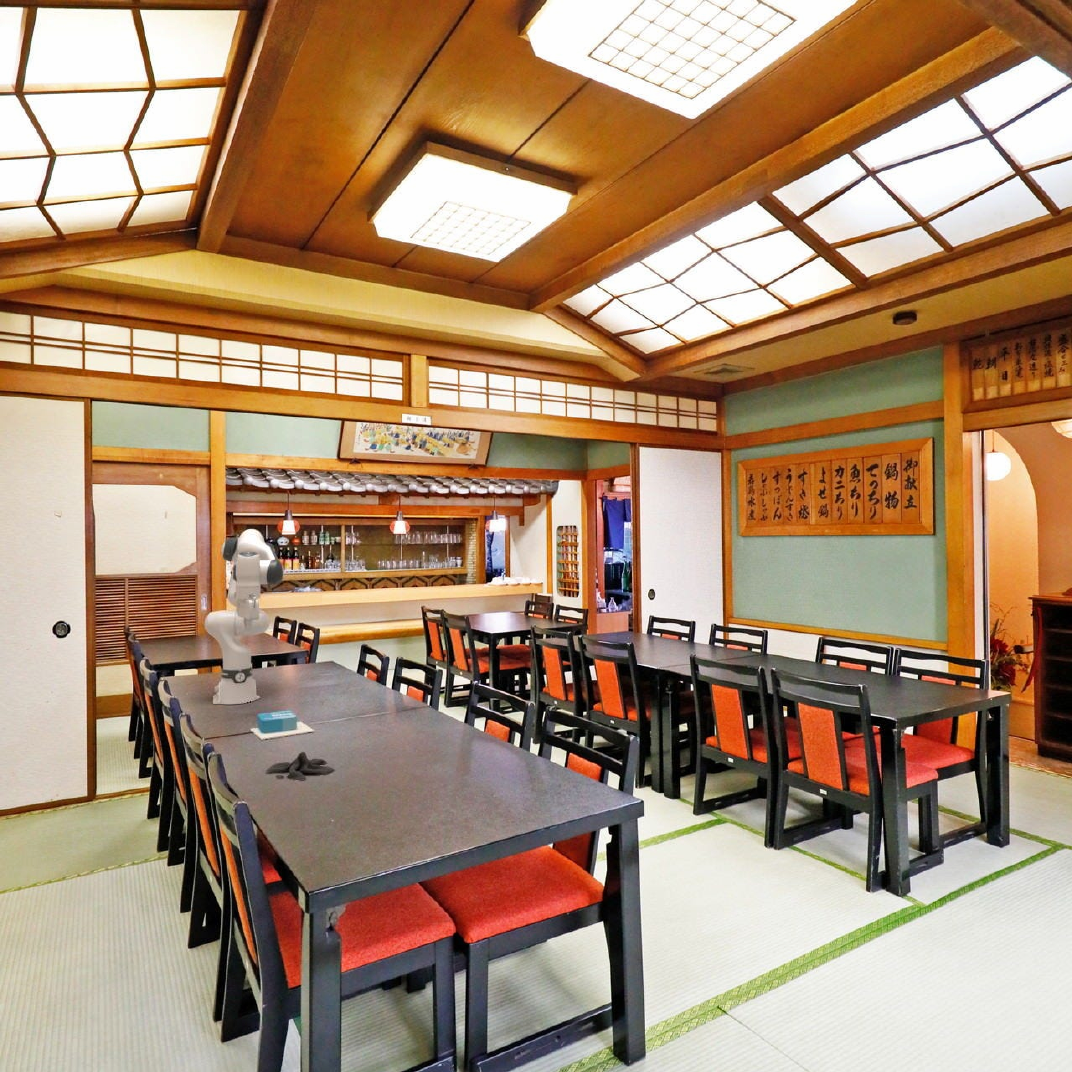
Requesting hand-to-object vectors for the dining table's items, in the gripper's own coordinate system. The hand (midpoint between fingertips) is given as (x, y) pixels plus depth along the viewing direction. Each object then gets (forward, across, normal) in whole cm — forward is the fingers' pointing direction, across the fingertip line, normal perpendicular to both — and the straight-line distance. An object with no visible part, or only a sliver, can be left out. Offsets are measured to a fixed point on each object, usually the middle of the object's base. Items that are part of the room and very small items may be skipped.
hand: (247, 630), depth 266 cm
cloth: (+35, -75, +2) cm, 83 cm away
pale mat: (+34, -25, -6) cm, 43 cm away
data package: (+31, -16, -6) cm, 35 cm away
